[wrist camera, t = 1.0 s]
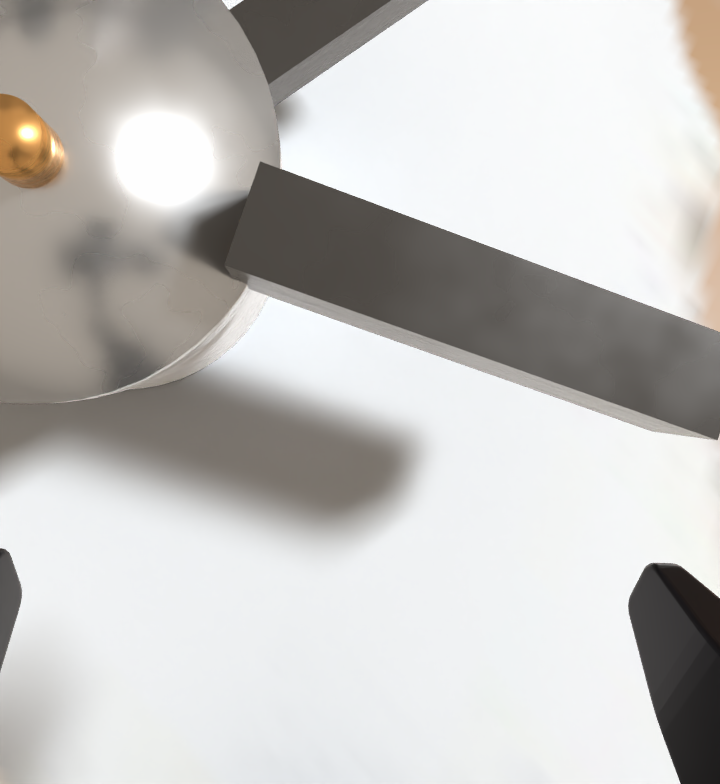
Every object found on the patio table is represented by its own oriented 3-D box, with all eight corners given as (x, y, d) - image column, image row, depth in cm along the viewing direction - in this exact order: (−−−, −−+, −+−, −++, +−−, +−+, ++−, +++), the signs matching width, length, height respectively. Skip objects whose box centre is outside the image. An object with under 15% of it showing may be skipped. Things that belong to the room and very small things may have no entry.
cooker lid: (-273, 311, 17) (-410, 295, 13) (-110, -142, 17) (-207, -264, 14) (593, 593, 19) (652, 635, 16) (728, 189, 19) (813, 150, 16)
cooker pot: (30, 499, 24) (-81, 546, 17) (-180, 228, 23) (-386, 163, 16) (482, 175, 26) (549, 97, 19) (298, -91, 25) (295, -276, 18)
